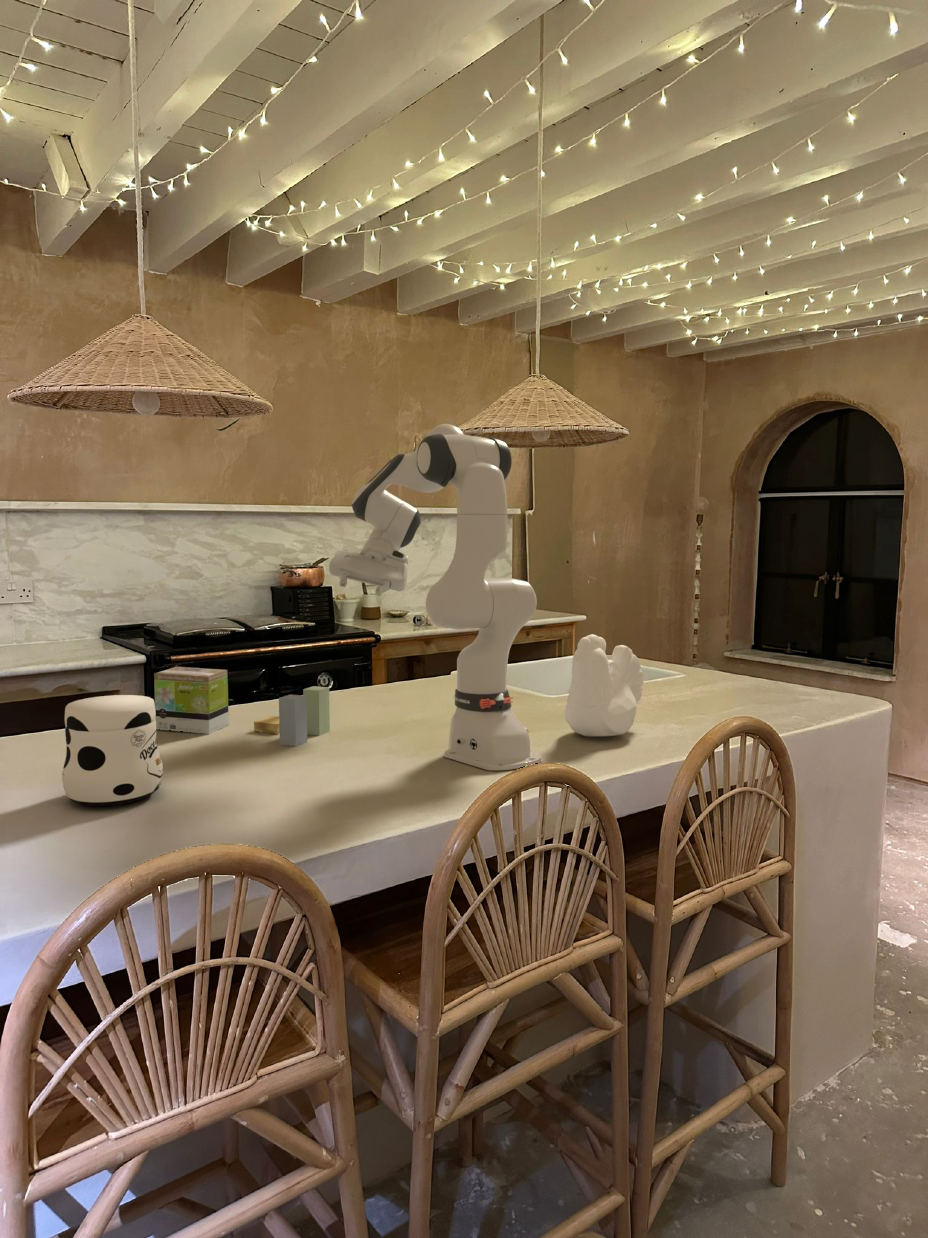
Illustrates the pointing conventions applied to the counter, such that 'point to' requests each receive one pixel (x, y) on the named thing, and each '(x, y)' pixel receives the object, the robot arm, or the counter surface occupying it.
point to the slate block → (293, 720)
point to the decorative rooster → (603, 689)
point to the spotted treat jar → (111, 750)
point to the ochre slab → (267, 725)
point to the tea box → (191, 699)
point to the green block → (317, 710)
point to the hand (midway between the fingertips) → (360, 589)
